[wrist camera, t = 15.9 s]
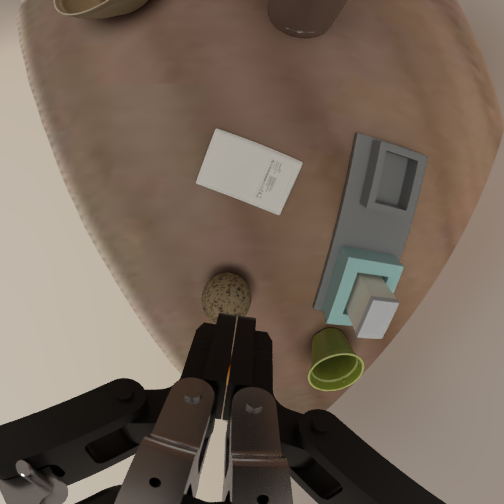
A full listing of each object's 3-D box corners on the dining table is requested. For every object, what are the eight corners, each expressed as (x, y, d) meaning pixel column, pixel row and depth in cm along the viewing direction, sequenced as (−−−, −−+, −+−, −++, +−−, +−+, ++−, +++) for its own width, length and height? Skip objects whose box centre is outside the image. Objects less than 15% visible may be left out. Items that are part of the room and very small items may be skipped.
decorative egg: (198, 280, 44) (182, 317, 35) (230, 254, 42) (221, 288, 32) (229, 309, 46) (221, 350, 37) (261, 286, 44) (260, 325, 34)
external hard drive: (217, 128, 35) (302, 161, 36) (198, 181, 38) (278, 213, 39) (215, 127, 33) (303, 162, 35) (195, 183, 37) (279, 216, 38)
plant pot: (357, 319, 45) (371, 352, 38) (346, 356, 49) (355, 389, 41) (306, 319, 46) (313, 354, 38) (300, 357, 50) (304, 392, 42)
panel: (355, 132, 33) (367, 132, 29) (424, 155, 34) (442, 159, 29) (312, 306, 45) (316, 324, 40) (375, 313, 45) (384, 330, 40)
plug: (352, 264, 40) (373, 300, 31) (374, 268, 40) (399, 303, 31) (341, 297, 43) (356, 337, 33) (362, 300, 43) (381, 338, 33)
